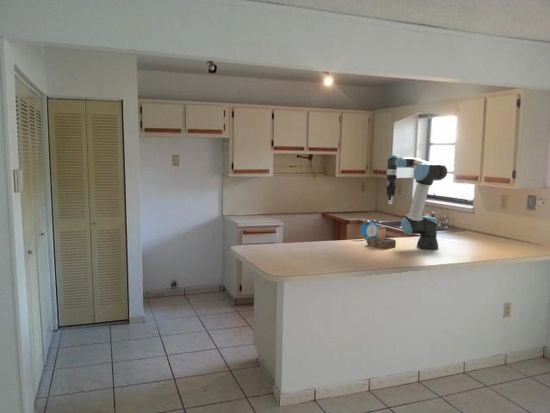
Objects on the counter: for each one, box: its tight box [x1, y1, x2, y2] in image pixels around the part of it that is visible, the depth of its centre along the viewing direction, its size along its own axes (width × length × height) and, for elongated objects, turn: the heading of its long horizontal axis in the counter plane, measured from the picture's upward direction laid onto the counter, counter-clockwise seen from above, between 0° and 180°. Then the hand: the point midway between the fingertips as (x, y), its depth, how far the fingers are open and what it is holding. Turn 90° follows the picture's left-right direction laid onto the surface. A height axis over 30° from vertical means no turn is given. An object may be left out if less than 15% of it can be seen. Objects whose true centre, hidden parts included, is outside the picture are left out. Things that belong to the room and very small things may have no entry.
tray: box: [365, 235, 395, 243], centre depth 342 cm, size 16×13×5 cm
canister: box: [377, 225, 386, 241], centre depth 342 cm, size 6×6×12 cm
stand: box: [367, 239, 397, 250], centre depth 342 cm, size 15×14×5 cm
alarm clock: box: [360, 219, 379, 238], centre depth 375 cm, size 13×6×15 cm, turn 113°
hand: (390, 204), depth 367 cm, fingers closed
